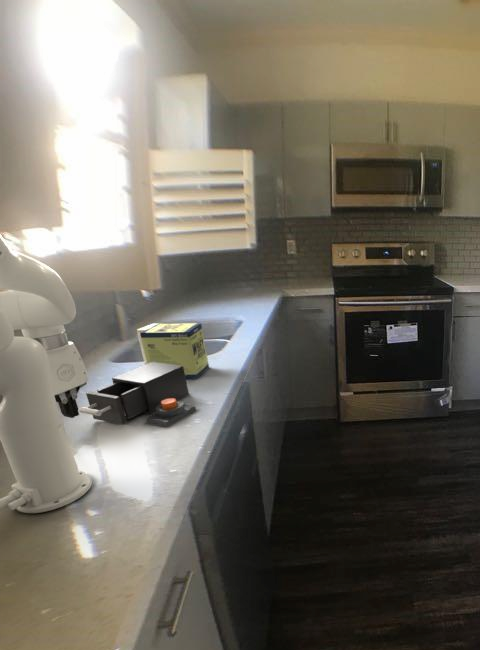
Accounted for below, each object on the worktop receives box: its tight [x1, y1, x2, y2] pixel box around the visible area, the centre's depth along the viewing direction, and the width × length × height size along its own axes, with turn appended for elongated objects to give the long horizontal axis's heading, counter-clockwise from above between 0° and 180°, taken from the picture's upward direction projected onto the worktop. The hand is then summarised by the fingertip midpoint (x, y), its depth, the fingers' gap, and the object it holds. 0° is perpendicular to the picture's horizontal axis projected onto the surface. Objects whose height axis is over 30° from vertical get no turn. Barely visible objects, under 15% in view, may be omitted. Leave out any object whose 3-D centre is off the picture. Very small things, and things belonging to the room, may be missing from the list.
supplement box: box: [136, 323, 157, 365], centre depth 158 cm, size 8×5×13 cm, turn 168°
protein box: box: [140, 322, 210, 380], centre depth 147 cm, size 10×16×16 cm
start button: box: [161, 398, 177, 409], centre depth 119 cm, size 4×4×2 cm
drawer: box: [78, 382, 148, 426], centre depth 118 cm, size 17×10×7 cm, turn 159°
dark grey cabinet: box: [111, 362, 190, 415], centre depth 128 cm, size 14×12×9 cm
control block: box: [145, 400, 197, 428], centre depth 119 cm, size 10×7×3 cm
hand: (71, 415), depth 107 cm, fingers closed
